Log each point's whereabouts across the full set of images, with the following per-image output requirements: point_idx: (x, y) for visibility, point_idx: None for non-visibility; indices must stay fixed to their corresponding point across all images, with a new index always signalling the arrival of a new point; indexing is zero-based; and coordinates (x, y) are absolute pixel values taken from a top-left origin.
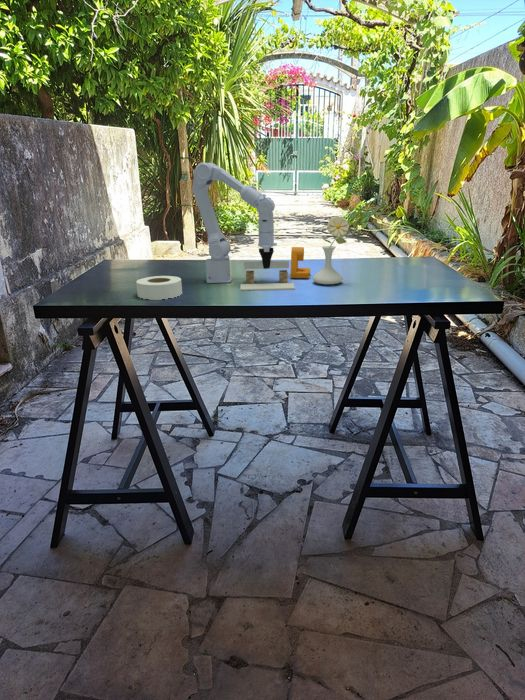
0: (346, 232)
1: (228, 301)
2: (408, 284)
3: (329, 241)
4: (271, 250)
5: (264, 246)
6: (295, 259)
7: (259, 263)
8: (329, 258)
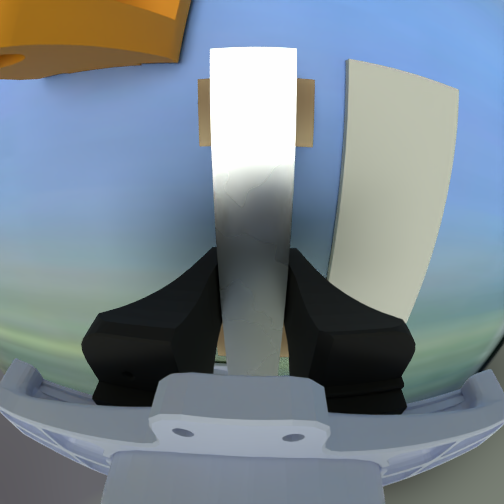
0: None
1: (483, 335)
2: None
3: None
4: (329, 364)
5: (476, 446)
6: (85, 4)
7: (280, 341)
8: None
